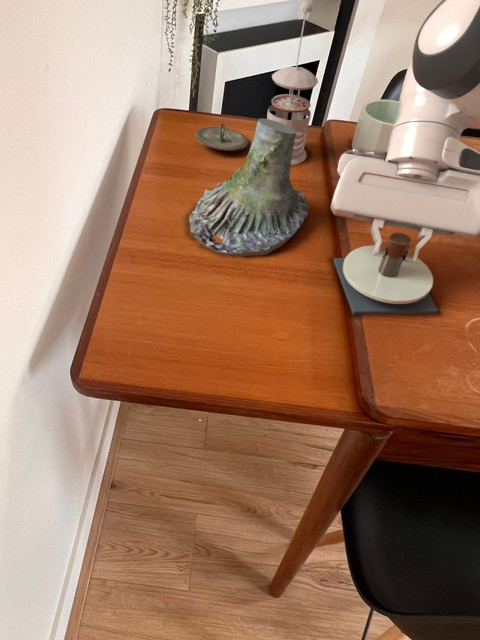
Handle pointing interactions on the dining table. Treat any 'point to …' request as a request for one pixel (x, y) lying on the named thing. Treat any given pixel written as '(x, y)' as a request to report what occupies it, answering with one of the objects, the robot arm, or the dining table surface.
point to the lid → (221, 138)
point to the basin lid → (388, 273)
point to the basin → (375, 124)
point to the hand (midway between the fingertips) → (394, 258)
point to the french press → (294, 99)
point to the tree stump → (254, 199)
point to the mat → (372, 306)
